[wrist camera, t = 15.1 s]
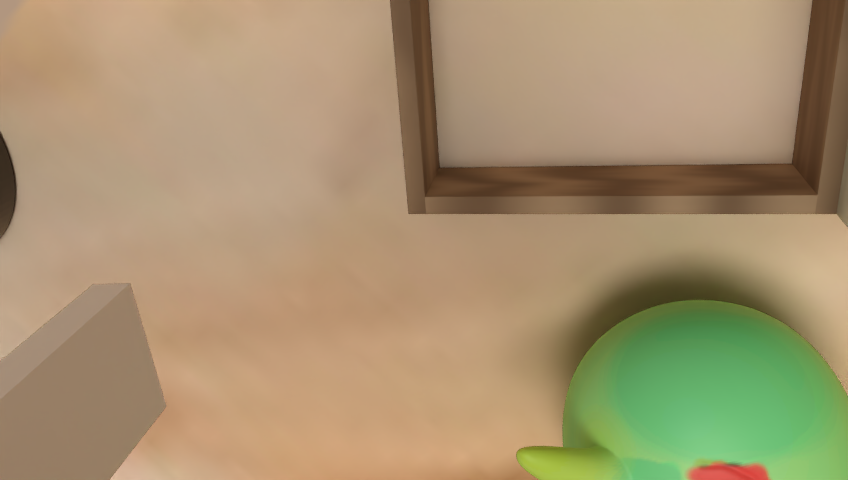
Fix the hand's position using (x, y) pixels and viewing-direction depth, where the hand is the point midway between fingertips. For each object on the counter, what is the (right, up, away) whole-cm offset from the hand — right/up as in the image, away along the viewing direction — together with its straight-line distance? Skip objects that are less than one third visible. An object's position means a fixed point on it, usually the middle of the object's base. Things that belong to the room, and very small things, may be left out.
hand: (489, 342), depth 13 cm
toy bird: (+16, -8, +36) cm, 40 cm away
